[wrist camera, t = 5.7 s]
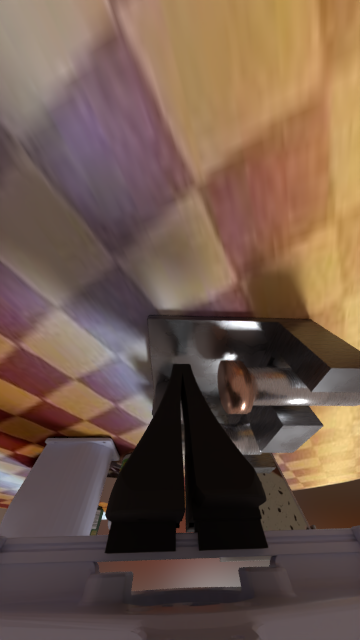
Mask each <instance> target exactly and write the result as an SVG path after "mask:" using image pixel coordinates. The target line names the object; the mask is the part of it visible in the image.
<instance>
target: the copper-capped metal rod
mask: <svg viewBox="0 0 360 640" xmlns="http://www.w3.org/2000/svg"><path fill="white" fill-rule="evenodd" d="M217 381H218V391H219V396H220V400H221V404H222V406H223V408H224V410H225V412H226V413H228V414H248V413H250V411H251V409H252V406H357V405H360V392H311V391H310V390H309V389H308V388H307V386H306V385H305V384H304V383H303V382H302V380H301V379H300V378H299V377H298V376H297V374H296V373H295V372H294V371H293V370H292V369H291V368H278V367H246V366H245V365H244V363H243V362H242V361H240V360H221V361H220V363H219V366H218V374H217Z"/></svg>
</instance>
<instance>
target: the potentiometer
mask: <svg viewBox="0 0 360 640" xmlns="http://www.w3.org/2000/svg"><path fill="white" fill-rule="evenodd" d="M168 382H169V381H165V382H161V383H159V384H158V385H157V386H156V388H155V395H154V402H153V410H152V415H153V417H154V415H155V413H156V411H157V409H158V407H159V405H160V402H161V400H162V398H163V395H164V393H165V391H166V388H167V385H168Z"/></svg>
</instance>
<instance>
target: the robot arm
mask: <svg viewBox="0 0 360 640" xmlns="http://www.w3.org/2000/svg"><path fill="white" fill-rule="evenodd" d="M181 403H182V413H183V423H184V445H185V490H184V472H183V453H182V431H181ZM45 443H46V444H47V445H46V447H45V448H44V450H43V451H42V453H41V455H40V456H39V458H38V460H37V461H36V463H35V464H34V466H33V468H32V469H31V471H30V473H29V474H28V476H27V477H26V479H25V481H24V482H23V484H22V486H21V487H20V489H19V490H18V492H17V494H16V495H15V497H14V498H13V500H12V502H11V504H10V505H9V507H8V509H7V511H6V513H5V515H4V517H3V520H2V522H1V525H0V640H360V526H355V527H352V528H345V529H309V530H273V531H264V530H263V527H262V524H261V520H260V519H262V516H261V513H260V509H259V506H260V505H262V504H263V503H265V502H266V500H267V498H266V495H265V491H264V489H263V486H262V484H261V482H260V479H259V477H258V475H257V473H256V471H255V469H254V468H253V466H252V465H251V464H250V463H249V462H248V460H247V459H246V458H245V457H244V455H243V454H242V453H241V452H240V450H239V449H238V448H237V447H236V445H235V444H234V443H233V441H232V440H231V439H230V437H229V436H228V435H227V433H226V432H225V430H224V429H223V427H222V426H221V425H220V423H219V422H218V420H217V419H216V417H215V415H214V414H213V412H212V411H211V409H210V407H209V405H208V404H207V402H206V400H205V398H204V396H203V394H202V392H201V390H200V388H199V386H198V384H197V382H196V379H195V377H194V374H193V371H192V368H191V365H190V364H173V366H172V372H171V376H170V379H169V382H168V385H167V388H166V391H165V393H164V395H163V398H162V400H161V402H160V405H159V407H158V409H157V411H156V413H155V415H154V417H153V419H152V420H151V422H150V424H149V426H148V428H147V430H146V431H145V433H144V435H143V436H142V438H141V440H140V441H139V443H138V444H137V446H136V448H135V449H134V451H133V452H132V454H131V455H130V457H129V458H128V460H127V461H126V463H125V464H124V466H123V467H122V469H121V471H120V473H119V475H118V477H117V480H116V482H115V484H114V487H113V489H112V492H111V495H110V498H109V502H108V506H107V510H106V514H105V515H106V518H107V519H108V520H109V521H111V526H110V531H109V535H91V536H89V535H90V532H91V529H92V525H93V522H94V518H95V515H96V511H97V508H98V504H99V501H100V498H101V494H102V491H103V487H104V484H105V480H106V477H107V473H108V470H109V467H110V463H111V461H114V460H119V459H120V456H119V454H118V452H117V450H116V447H115V445H114V443H113V441H112V439H111V438H47V439H46V441H45ZM185 506H186V532H194V533H176V528H179V523H180V521H182V519H183V516H184V513H185ZM253 556H272V557H271V558H270V565H269V567H243V568H239V570H238V571H239V577H240V582H241V587H202V588H201V587H198V588H172V589H156V590H144V591H131V588H132V581H133V573H132V572H106V573H100V572H99V566H98V563H97V562H107V561H137V560H166V559H192V558H224V557H253Z"/></svg>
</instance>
